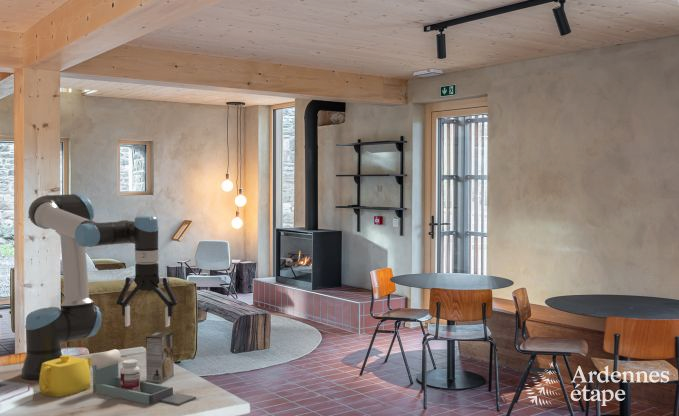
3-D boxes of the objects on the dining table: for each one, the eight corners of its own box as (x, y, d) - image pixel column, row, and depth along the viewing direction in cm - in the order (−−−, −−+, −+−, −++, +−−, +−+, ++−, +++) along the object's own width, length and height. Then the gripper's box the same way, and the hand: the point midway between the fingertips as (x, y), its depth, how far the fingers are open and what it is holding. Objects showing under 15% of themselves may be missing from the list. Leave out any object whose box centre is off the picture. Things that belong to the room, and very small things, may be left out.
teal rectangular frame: (89, 391, 244) (88, 354, 244) (112, 383, 253) (111, 348, 252) (150, 404, 231) (150, 365, 230) (172, 396, 239) (172, 358, 238)
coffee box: (157, 374, 265) (157, 330, 264) (174, 375, 263) (173, 331, 262) (145, 381, 256) (145, 336, 255) (163, 382, 254) (162, 337, 253)
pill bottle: (122, 391, 245) (122, 358, 244) (141, 390, 245) (141, 358, 245) (119, 397, 238) (118, 363, 238) (138, 396, 239) (137, 363, 238)
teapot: (80, 379, 258) (80, 346, 258) (104, 385, 252) (103, 351, 251) (29, 394, 242) (29, 358, 241) (53, 400, 235) (52, 364, 234)
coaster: (159, 401, 234) (159, 399, 234) (177, 394, 241) (177, 392, 241) (178, 405, 230) (178, 403, 230) (195, 398, 237) (195, 396, 237)
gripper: (105, 263, 241) (106, 327, 242) (180, 264, 239) (181, 328, 240) (114, 260, 248) (114, 323, 249) (186, 261, 247) (187, 323, 248)
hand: (147, 325), depth 245 cm, fingers open, 13 cm apart
